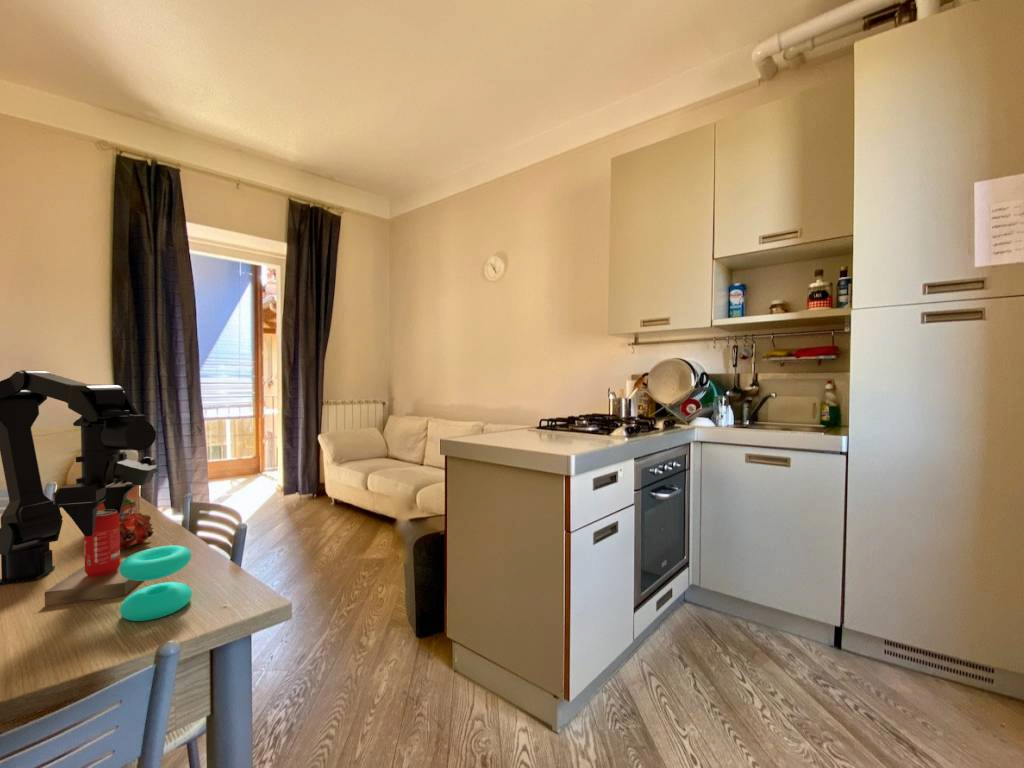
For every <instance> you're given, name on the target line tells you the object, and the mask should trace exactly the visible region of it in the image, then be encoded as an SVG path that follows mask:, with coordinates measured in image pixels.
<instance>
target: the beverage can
mask: <svg viewBox="0 0 1024 768" xmlns="http://www.w3.org/2000/svg"><path fill="white" fill-rule="evenodd" d="M83 551H84V554H83V555H84V560H83V561H84V566H85V572H86V574H87V575H88V577H89V578H98V577H103V576H107V575H110V574H113V573H115V572H117V570H118V567H119V565H120V562H121V549H120V534H119V514H118V512H117V510H116V509H108V510H100V511H97V514H96V521H95V528H94V533H93V535H92V536H87V537H86V536H84V535H83Z"/></svg>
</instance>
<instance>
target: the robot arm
mask: <svg viewBox="0 0 1024 768" xmlns="http://www.w3.org/2000/svg"><path fill="white" fill-rule="evenodd" d="M124 390H125V389H124V388H123V387H122V386H120V385H118V384H99V383H98V384H95V383H94V384H91V383H85V382H81V381H77V380H75V379H71V378H68V377H64V376H61V375H57V374H55V373H52V372H50V371H47V370H35V369H34V370H32V369H31V370H27V369H26V370H25V369H24V370H22V369H21V370H19V371H15V372H14V373H13V374H12V375H10V376H9V377H7V378H5V379H2V380H0V458H1V462H2V463H1V464H2V468H3V474H4V478H5V484H6V490H7V494H8V495H7V496H8V501H9V503H7V505H6V508H5V509H4V511H3V512H2V514H1V515H0V563H1V564H0V565H1V566H0V567H1V569H0V570H1V572H0V573H1V578H0V585H4V584H12V583H21V582H31V581H37V580H38V579H40V578H41V577H43V576H44V575H46V574H48V573H50V572H51V571H53V570H54V569H55V568H56V566H55V565H53V550H52V549H50V543H53V542H57V541H58V540H59V537H60V534H61V530H62V525H63V522H64V521H63V515H62V511H61V510H60V509H61V508H62V509H63V511H64V512H65V513H66V514H67V515H68V516H69V517H70V518H71V520H72V521H73V522H74V523H75V525H76V527H78V529H79V530H80V531H81V533H82V534H83V537H84V536H86V537H87V536H92V535H93V533H94V528H95V521H96V514H97V508H98V506H100V505H101V504H102V503H103V504H104V506H105V509H106V510H108V509H116V510H117V512H118V514H119V517H120V514H121V511H122V508H123V505H124V502H125V499H126V496H127V494H128V493H129V492H130V491H131V490H132V489H133V488H134V487H136V486H137V485H139V486H145V485H147V484H148V483H151V482H152V480H153V477H154V474H156V473H158V471H159V470H158V465H156V460H155V459H156V458H154V457H150V456H145V457H143V458H142V459H141V460H138V461H137V460H135V461H132V460H127V454H126V453H125V452H120V450H135V451H137V452H139V451H140V452H141V451H146V450H147V449H149V448H150V447H151V446H152V445H153V444H154V443H155V441H156V438H157V431H156V430H155V427H154V426H153V425H152V424H151V423H150V422H149V421H146V415H145V414H139V413H138V411H137V408H136V407H135V406H134V405H133V402H131V400H130V398H129V396H128V394H127V393H126V392H125V391H124ZM48 398H50V399H54V400H57V401H60V402H64V403H66V404H67V408H68V409H69V410H70V411H73V412H74V413H76V414H78V415H81V416H80V417H79V418H78V419H76V420H75V421H74V422H73V423H72V424H73V426H74V427H80V450H81V452H80V454H81V455H79V456H76V457H75V463H81V477H77V478H75V482H76V483H71V484H68V485H65V486H62V487H59V488H58V489H57V490H55V491H54V492H53V493H52V499H50V498H49V497H48V496H46V494H45V493H44V489H43V488H44V487H43V484H42V480H41V479H42V478H41V474H40V468H39V463H38V458H37V454H36V447H35V443H34V436H33V431H32V427H33V425H34V424H35V422H36V421H37V419H38V417H39V415H40V406H41V405H42V404H44V402H45V401H47V400H48ZM130 482H131V483H133V484H130Z"/></svg>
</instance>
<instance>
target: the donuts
mask: <svg viewBox="0 0 1024 768" xmlns="http://www.w3.org/2000/svg"><path fill="white" fill-rule="evenodd" d="M191 558H192V552H191V550H190V549H189V548H187V547H186V546H183V545H175V544H174V545H171V544H170V545H164V546H163V545H162V546H155V547H152V548H150V547H149V548H147V549H144V550H141V551H137V552H134V553H133V554H131V555H129V556H127V557H125V559H124V560H123V561H122V563H121V565H120V568H119V570H120V573H121V575H122V576H123V577H125V578H127V579H130V580H136V581H141V582H142V581H152V580H157V579H161V578H165V577H168V576H170V575H173V574H176V573H177V572H179V571H181V570H182V569H184V568H185V567H186V566H187V565H188V564H189V562H190V561H191ZM192 593H193V592H192V590H191V587H190V586H189V585H187V584H185V583H182V582H178V581H167V582H166V581H165V582H159V583H155V584H152V585H148V586H146V587H143V588H140V589H138V590H136V591H134V592H133V593H131V594H130V595H129V596H127V597H126V598H125V599H124V601H123V602H122V603H121V605H120V608H119V612H120V615H121V617H122V618H124V619H125V620H128V621H130V622H131V621H133V622H143V621H145V622H146V621H152V620H157V619H160V618H163V617H166V616H169V615H172V614H173V613H176V612H178V611H179V610H181V609H183V608H184V607H185V606H187V604H188V603H189V602H190V600H191V598H192V595H193V594H192Z"/></svg>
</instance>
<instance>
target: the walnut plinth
mask: <svg viewBox="0 0 1024 768" xmlns="http://www.w3.org/2000/svg"><path fill="white" fill-rule="evenodd" d="M122 562H123V561H122ZM122 562H121V561H120V565H121V563H122ZM120 565H119V567H118V570H117V572H115V573H113V574H110V575H107V576H103V577H98V578H89V577H88V575H87V574H86V572H85V565H83V566H82V567H81V568H79V569H77V570H76V571H75V572H73V573H71V574H70V575H68V576H66V577H64V579H62V580H61V581H59V582H57V583H55V585H53V586H52V587H50V588H49V589H47V590H45V591H44V606H45V607H46V606H55V605H64V604H70V603H79V602H86V601H93V600H94V601H95V600H103V599H112V598H117V597H118V598H119V597H125V596H127V595H128V594H129V593H130V592H131V591H132V590H133V589H135V588H136V587H137V586H138V585H140V583H141V582H142V581H136V580H130V579H127V578H125V577H123V576H122V575H121V573H120V570H119V568H120Z"/></svg>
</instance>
